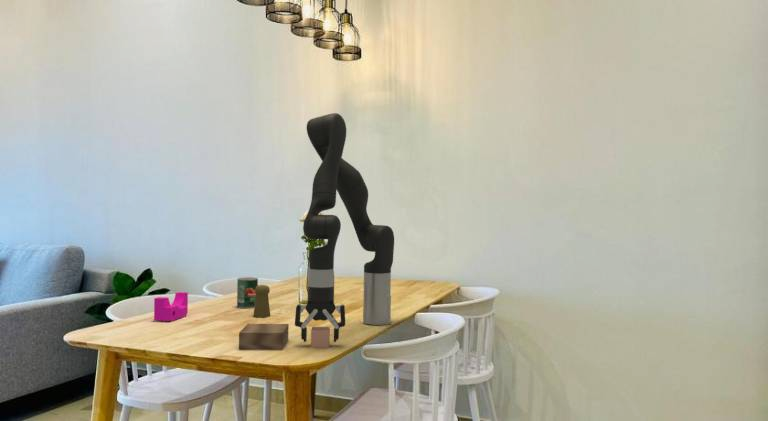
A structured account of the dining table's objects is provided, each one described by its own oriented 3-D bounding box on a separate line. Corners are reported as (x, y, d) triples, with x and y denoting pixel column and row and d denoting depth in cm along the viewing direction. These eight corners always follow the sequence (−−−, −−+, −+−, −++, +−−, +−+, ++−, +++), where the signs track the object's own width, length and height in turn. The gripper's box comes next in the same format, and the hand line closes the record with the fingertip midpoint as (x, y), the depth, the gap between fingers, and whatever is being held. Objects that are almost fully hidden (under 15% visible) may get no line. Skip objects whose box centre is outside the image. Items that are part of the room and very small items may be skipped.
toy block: (170, 321, 190) (170, 299, 190) (154, 320, 191) (154, 298, 191) (193, 313, 205) (194, 292, 205) (178, 312, 206) (178, 292, 206)
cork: (249, 316, 199) (250, 285, 199) (259, 313, 205) (260, 283, 204) (264, 318, 197) (264, 287, 197) (273, 315, 202) (274, 284, 202)
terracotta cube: (329, 343, 161) (329, 326, 161) (328, 348, 156) (328, 330, 156) (312, 343, 161) (312, 326, 161) (310, 348, 156) (311, 330, 156)
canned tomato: (241, 304, 224) (241, 277, 224) (260, 305, 223) (260, 277, 223) (233, 307, 216) (234, 279, 216) (253, 308, 215) (254, 280, 215)
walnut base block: (288, 340, 165) (288, 324, 165) (282, 351, 153) (283, 332, 153) (247, 340, 165) (247, 323, 165) (238, 350, 153) (239, 332, 153)
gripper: (346, 283, 163) (345, 338, 163) (297, 282, 162) (296, 338, 162) (345, 286, 155) (344, 344, 155) (294, 286, 155) (293, 344, 155)
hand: (319, 341), depth 159 cm, fingers open, 8 cm apart
